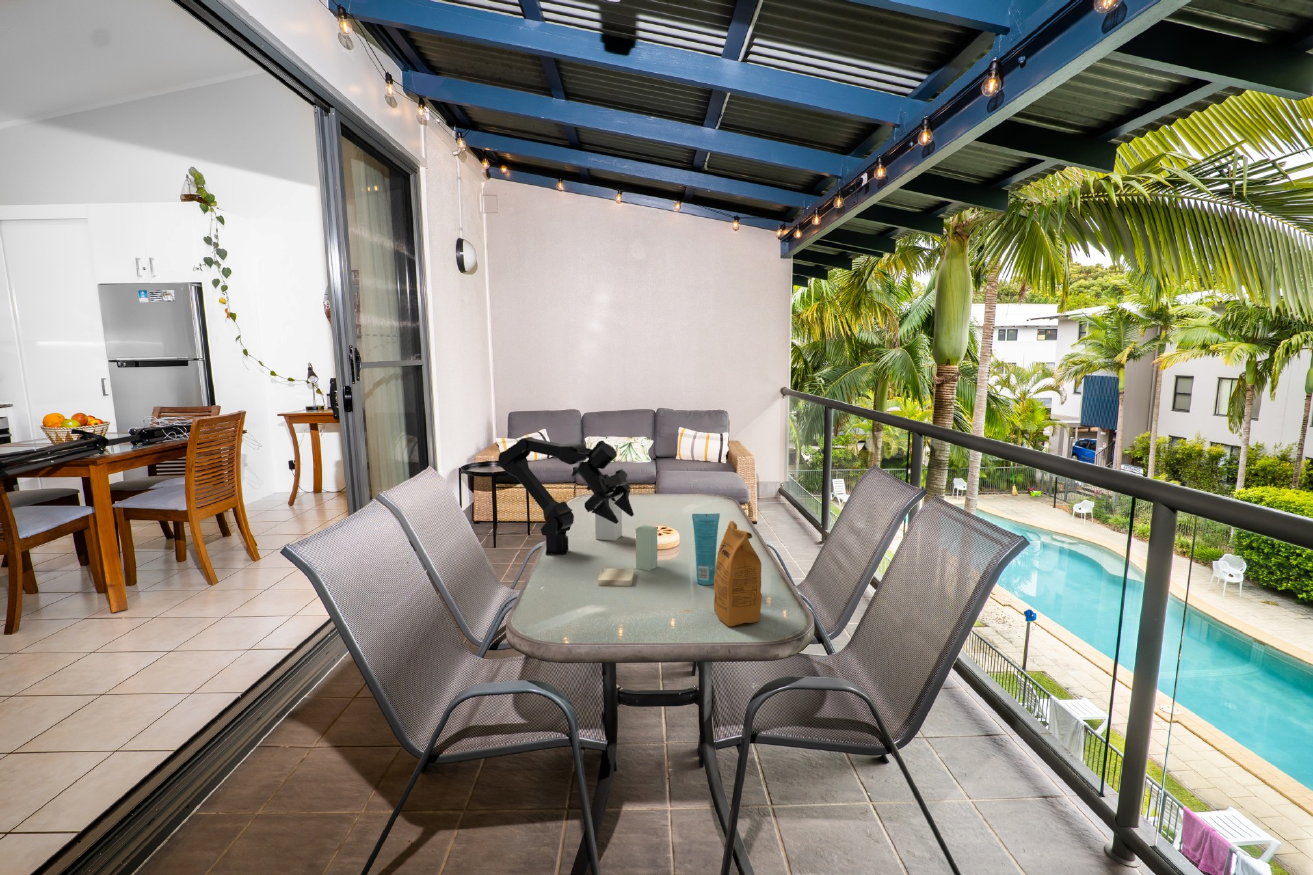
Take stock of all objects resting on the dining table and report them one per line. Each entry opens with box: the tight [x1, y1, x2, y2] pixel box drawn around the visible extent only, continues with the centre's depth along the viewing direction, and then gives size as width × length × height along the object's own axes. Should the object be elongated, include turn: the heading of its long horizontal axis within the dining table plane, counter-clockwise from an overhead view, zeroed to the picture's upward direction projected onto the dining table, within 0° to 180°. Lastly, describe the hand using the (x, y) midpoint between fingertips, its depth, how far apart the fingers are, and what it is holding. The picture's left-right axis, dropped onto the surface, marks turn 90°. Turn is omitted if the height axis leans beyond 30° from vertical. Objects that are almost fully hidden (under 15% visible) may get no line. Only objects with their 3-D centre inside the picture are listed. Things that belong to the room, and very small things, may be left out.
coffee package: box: [713, 520, 763, 627], centre depth 141 cm, size 10×12×22 cm
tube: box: [691, 512, 720, 586], centre depth 164 cm, size 7×5×19 cm, turn 100°
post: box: [635, 524, 658, 572], centre depth 174 cm, size 4×4×12 cm
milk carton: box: [594, 499, 623, 542], centre depth 207 cm, size 7×7×19 cm
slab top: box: [597, 568, 635, 587], centre depth 165 cm, size 9×9×2 cm
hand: (625, 519), depth 179 cm, fingers open, 9 cm apart
